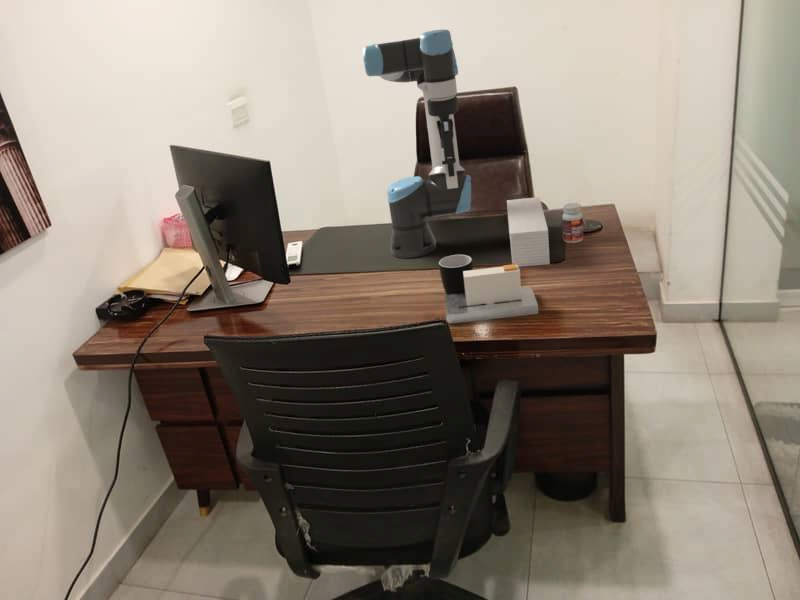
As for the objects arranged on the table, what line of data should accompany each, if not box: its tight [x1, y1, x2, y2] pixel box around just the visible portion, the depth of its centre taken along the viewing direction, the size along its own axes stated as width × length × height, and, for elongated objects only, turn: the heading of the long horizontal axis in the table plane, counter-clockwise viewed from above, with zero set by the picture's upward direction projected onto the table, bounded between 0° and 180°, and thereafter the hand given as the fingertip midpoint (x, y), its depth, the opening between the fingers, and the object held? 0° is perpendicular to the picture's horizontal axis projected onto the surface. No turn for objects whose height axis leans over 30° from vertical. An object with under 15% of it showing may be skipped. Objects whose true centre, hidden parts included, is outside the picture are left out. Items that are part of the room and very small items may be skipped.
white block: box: [463, 264, 522, 307], centre depth 172 cm, size 4×14×10 cm, turn 89°
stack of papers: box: [506, 196, 551, 268], centre depth 208 cm, size 32×11×11 cm, turn 174°
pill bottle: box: [561, 202, 584, 244], centre depth 207 cm, size 6×6×11 cm
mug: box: [438, 254, 474, 295], centre depth 184 cm, size 12×9×10 cm
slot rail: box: [443, 285, 539, 325], centre depth 174 cm, size 12×23×2 cm, turn 89°
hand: (450, 180), depth 175 cm, fingers open, 13 cm apart
